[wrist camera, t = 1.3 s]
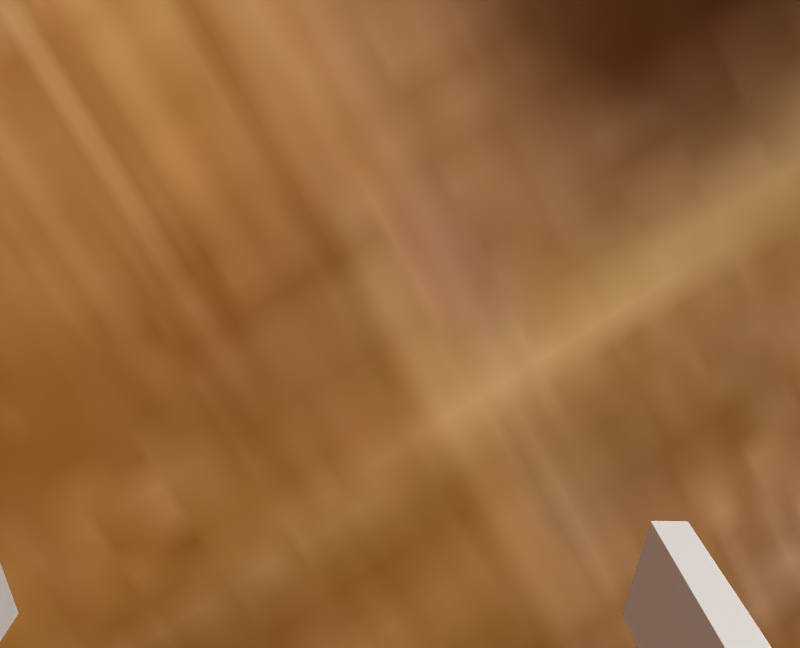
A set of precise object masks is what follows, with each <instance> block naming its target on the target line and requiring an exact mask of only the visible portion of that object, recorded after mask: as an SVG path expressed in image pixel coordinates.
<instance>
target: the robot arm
mask: <svg viewBox="0 0 800 648" xmlns="http://www.w3.org/2000/svg"><path fill="white" fill-rule="evenodd" d="M17 615H18V611H17V608H16V606H15V603H14V600H13V597H12V594H11V592H10V589H9V586H8V583H7V581H6V578H5V575H4V572H3V569H2V567H1V564H0V641H1V639H2V638H3V636H4V635H5V633H6V632H7V630H8V629H9V627H10V626H11V624H12V622H13V621H14V619H15V618H16V616H17ZM623 617H624V619H625V621H626V624H627V626H628V628H629V630H630V633H631V635H632V637H633V640H634V642H635V644H636V647H637V648H771V646H770V644H769V643H768V641H767V640H766V638H765V637H764V635H763V634H762V632H761V631H760V629H759V628H758V626H757V625H756V623H755V622H754V620H753V619H752V617H751V616H750V614H749V613H748V611H747V610H746V608H745V607H744V605H743V604H742V602H741V601H740V599H739V598H738V596H737V595H736V593H735V592H734V590H733V589H732V587H731V586H730V584H729V583H728V581H727V580H726V578H725V577H724V575H723V574H722V572H721V571H720V569H719V568H718V566H717V565H716V563H715V562H714V560H713V559H712V557H711V556H710V554H709V553H708V551H707V550H706V548H705V547H704V545H703V544H702V542H701V541H700V539H699V538H698V536H697V535H696V533H695V532H694V530H693V529H692V527H691V526H690V524H689V523H688V521H651V522H650V525H649V529H648V532H647V535H646V539H645V542H644V545H643V548H642V552H641V555H640V558H639V562H638V565H637V568H636V571H635V575H634V578H633V581H632V585H631V588H630V591H629V594H628V598H627V601H626V604H625V608H624V611H623Z"/></svg>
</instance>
